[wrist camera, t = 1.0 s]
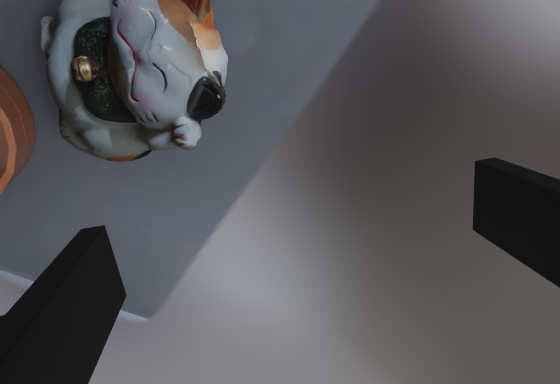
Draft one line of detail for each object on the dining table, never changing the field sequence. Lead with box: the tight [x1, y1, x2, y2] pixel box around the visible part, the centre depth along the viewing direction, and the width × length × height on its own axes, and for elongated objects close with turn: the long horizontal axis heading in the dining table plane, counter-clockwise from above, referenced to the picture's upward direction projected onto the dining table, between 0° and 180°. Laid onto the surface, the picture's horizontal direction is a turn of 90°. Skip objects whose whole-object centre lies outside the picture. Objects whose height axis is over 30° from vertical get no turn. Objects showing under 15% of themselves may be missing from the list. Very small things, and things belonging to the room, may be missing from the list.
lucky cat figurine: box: [40, 0, 228, 162], centre depth 30 cm, size 15×12×14 cm
